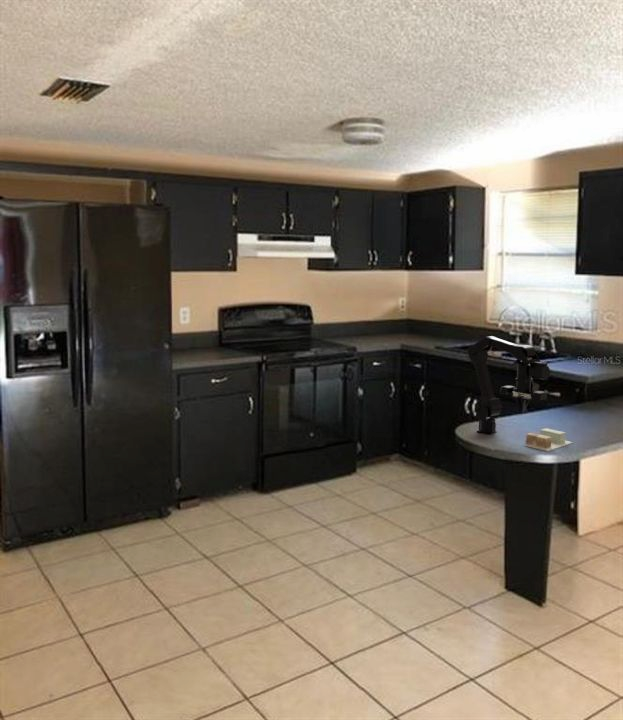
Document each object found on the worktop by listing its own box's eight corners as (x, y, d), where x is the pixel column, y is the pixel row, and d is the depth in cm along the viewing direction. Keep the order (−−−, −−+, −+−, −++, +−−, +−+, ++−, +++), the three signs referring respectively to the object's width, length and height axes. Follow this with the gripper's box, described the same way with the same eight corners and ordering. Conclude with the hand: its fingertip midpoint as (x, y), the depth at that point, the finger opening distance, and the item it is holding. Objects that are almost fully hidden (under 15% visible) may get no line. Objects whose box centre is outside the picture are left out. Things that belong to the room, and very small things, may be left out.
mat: (524, 445, 282) (524, 444, 282) (549, 437, 294) (549, 436, 294) (548, 451, 274) (548, 450, 274) (572, 442, 286) (572, 442, 286)
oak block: (526, 434, 283) (546, 438, 276) (531, 432, 286) (551, 437, 279) (525, 443, 284) (545, 448, 277) (531, 441, 286) (550, 446, 280)
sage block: (540, 429, 290) (560, 434, 283) (545, 428, 293) (565, 432, 286) (540, 438, 291) (559, 443, 284) (545, 437, 293) (564, 441, 287)
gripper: (555, 377, 282) (553, 414, 285) (515, 370, 296) (513, 406, 299) (540, 380, 275) (538, 418, 278) (500, 373, 289) (498, 410, 291)
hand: (522, 413), depth 286 cm, fingers closed
